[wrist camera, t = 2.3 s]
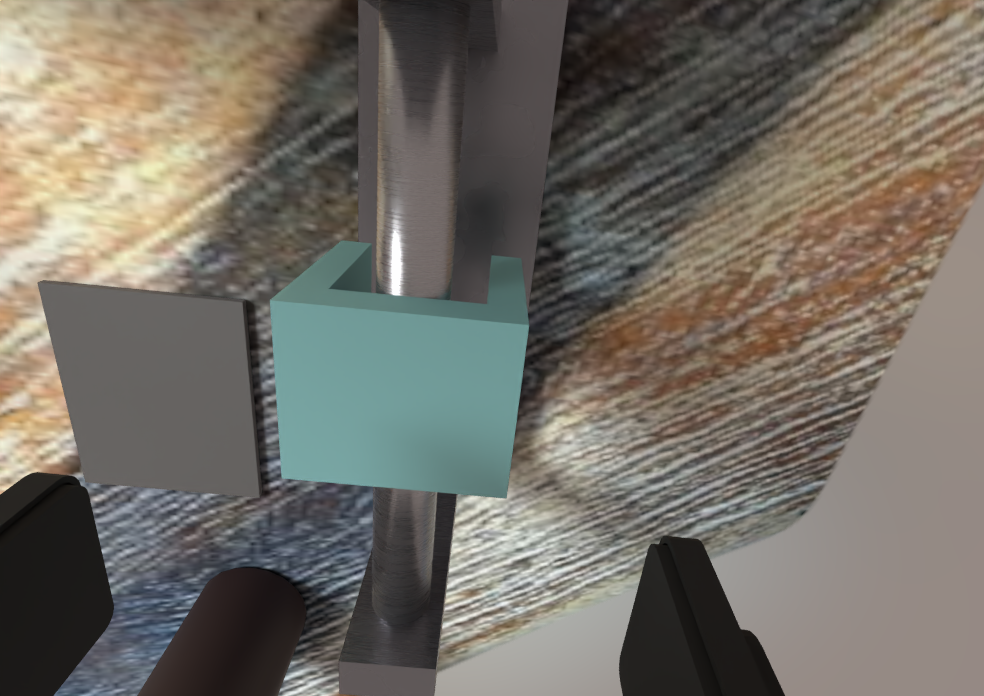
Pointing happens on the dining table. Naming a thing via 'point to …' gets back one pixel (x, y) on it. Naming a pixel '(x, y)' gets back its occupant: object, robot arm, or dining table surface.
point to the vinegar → (233, 639)
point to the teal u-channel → (397, 379)
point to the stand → (440, 252)
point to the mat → (157, 387)
